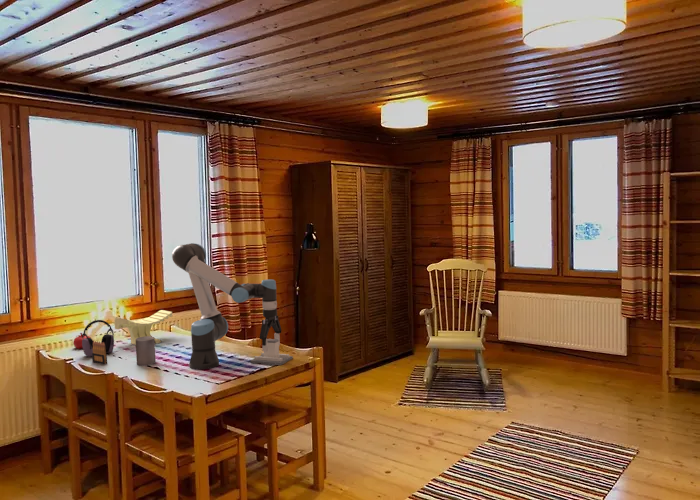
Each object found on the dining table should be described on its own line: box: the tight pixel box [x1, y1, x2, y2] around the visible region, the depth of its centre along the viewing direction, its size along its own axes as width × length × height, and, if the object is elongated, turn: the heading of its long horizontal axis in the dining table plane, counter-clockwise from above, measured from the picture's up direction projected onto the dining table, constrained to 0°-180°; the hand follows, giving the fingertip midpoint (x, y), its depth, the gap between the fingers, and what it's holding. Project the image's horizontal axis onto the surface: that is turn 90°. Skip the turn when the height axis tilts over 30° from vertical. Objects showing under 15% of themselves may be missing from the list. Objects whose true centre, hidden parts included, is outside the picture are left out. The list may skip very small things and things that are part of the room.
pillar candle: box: [135, 335, 157, 366], centre depth 311 cm, size 10×10×15 cm
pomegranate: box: [72, 332, 92, 350], centre depth 353 cm, size 10×10×9 cm
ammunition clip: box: [91, 340, 108, 365], centre depth 315 cm, size 11×2×12 cm, turn 57°
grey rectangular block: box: [263, 338, 280, 358], centre depth 310 cm, size 4×7×10 cm, turn 70°
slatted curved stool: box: [114, 309, 173, 346], centre depth 362 cm, size 30×16×18 cm, turn 137°
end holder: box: [250, 352, 294, 366], centre depth 310 cm, size 14×18×3 cm
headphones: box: [82, 319, 115, 358], centre depth 334 cm, size 9×17×20 cm, turn 136°
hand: (271, 348), depth 310 cm, fingers open, 13 cm apart
